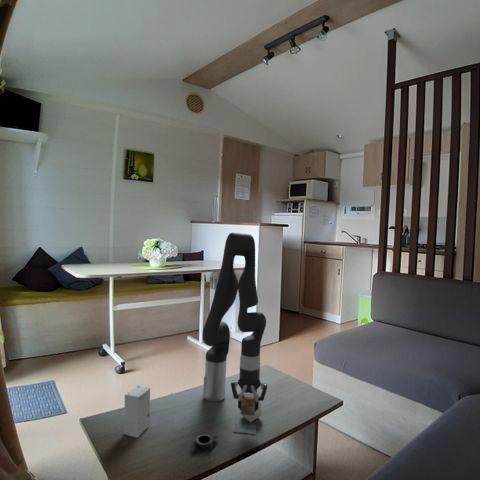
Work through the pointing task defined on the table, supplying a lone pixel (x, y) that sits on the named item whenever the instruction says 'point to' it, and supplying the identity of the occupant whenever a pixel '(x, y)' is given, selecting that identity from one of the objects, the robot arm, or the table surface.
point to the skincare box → (136, 411)
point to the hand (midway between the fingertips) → (248, 409)
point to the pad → (245, 429)
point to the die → (257, 414)
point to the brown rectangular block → (248, 405)
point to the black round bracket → (203, 443)
